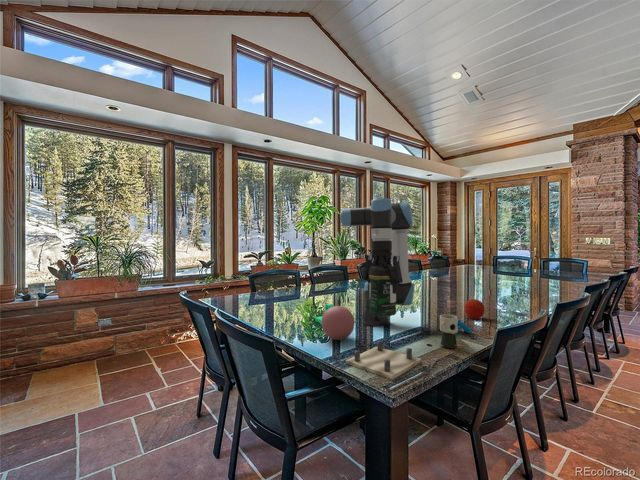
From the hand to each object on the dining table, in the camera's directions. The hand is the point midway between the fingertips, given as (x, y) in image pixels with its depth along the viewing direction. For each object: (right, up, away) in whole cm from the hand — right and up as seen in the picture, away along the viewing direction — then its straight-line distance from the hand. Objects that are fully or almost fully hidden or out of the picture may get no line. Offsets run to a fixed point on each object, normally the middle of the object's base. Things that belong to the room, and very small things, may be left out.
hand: (382, 300), depth 118 cm
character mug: (+31, -23, +16) cm, 42 cm away
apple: (+64, -22, +61) cm, 91 cm away
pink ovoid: (-16, -24, +31) cm, 42 cm away
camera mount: (-20, -24, +56) cm, 64 cm away
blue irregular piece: (+45, -23, +35) cm, 62 cm away
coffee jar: (0, -6, 0) cm, 6 cm away
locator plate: (0, -23, 0) cm, 23 cm away
